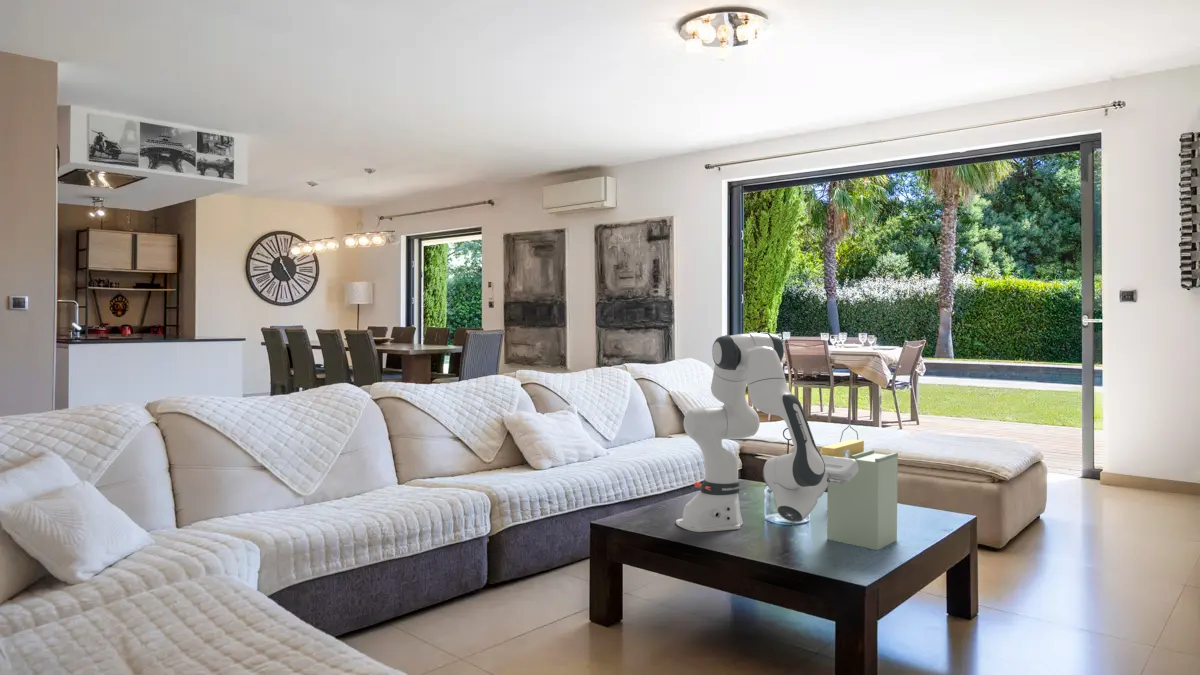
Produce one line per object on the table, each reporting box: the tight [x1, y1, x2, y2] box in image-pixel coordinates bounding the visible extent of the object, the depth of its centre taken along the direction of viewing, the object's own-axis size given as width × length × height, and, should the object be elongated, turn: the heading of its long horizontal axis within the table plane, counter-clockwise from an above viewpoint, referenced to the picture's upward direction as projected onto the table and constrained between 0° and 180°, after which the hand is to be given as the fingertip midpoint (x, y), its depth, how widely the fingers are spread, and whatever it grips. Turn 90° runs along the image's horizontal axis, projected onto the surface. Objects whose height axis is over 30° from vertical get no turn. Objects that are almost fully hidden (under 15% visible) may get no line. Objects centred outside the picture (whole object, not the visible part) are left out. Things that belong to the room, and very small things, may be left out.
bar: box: [821, 439, 865, 458], centre depth 237 cm, size 20×4×4 cm, turn 137°
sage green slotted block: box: [826, 449, 899, 551], centre depth 239 cm, size 14×16×27 cm
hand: (832, 449), depth 232 cm, fingers open, 8 cm apart
